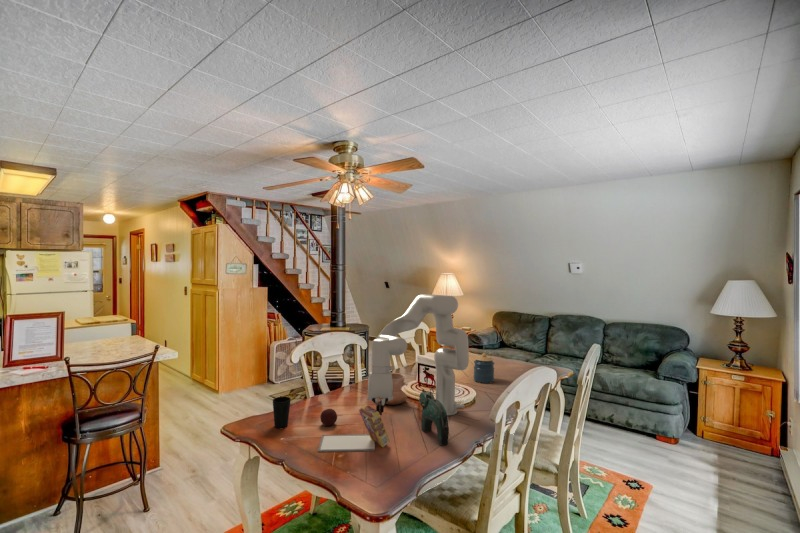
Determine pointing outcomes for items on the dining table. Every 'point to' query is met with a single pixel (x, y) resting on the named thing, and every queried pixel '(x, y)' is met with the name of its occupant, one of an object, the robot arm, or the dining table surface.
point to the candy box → (374, 425)
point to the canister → (484, 369)
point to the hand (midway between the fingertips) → (379, 414)
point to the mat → (346, 443)
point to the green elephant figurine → (434, 416)
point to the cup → (281, 411)
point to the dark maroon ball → (328, 417)
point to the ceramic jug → (397, 389)
